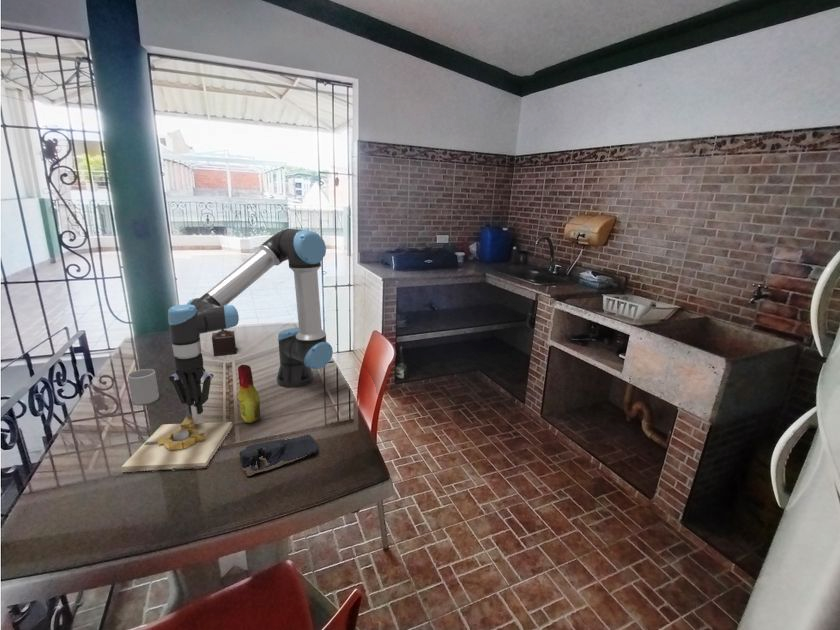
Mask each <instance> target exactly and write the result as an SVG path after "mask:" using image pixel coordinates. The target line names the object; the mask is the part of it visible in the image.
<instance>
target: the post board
mask: <svg viewBox="0 0 840 630" xmlns="http://www.w3.org/2000/svg"><path fill="white" fill-rule="evenodd" d="M233 426H234V425H233V421H226V422H225V421H224V422H222V421H221V422H200V423H199V424H197V425H196V426H195V428H194V429H196V430H198V432H199V433H204V434H205V438H204V440H200V441H197V442H196V443H195V444H193V445H191V446H189V447H186V448H183V449H177V450H169V449H168V448H166V447H165V446H164V444H158V438H159V437H160V436H167V434H169V433H171V432H173V431H175V430H178V429H181V423H168V424H165V423H164V424H161V425H160V426H159V427H158V428H157V429H156V430H155V431H154V432H153V433H152V435H151V436H150V437H148V439H146V441H145V442H144V443H143V444H142V445H141V446H140V447H138V449H137V450H136V451H135V452H134V453H133V454H132V455H131V456H130V457H129V458H128V459H127V460H126V461H125V462H124V463H123V464H122V465H121V471H122V473H123V472H132V471H143V470H144V471H145V470H147V471H148V470H160V469H173V468H184V467H195V466H206V465H207V464H208V462H209V461H210V459H211V458H212V456H213V455H214V453H215V452H216V451H217V449H218V448H219V446H220V445H221V443H222V442H223V440H224V439H225V437H226V436H227V437H228V435H229V434H230V432H231V431H230V430H232V429H231V428H233ZM229 431H230V432H229ZM228 433H229V434H228ZM227 434H228V435H227ZM173 437H174V440H173V441H182V440H184V439H187V438H189V437H191V436H189V432H188V430H180V431H177V432H175V433H174V434H173ZM227 437H226V438H227ZM225 440H226V439H225ZM225 440H224V441H225ZM223 443H224V442H223ZM223 443H222V444H223ZM221 446H222V445H221ZM221 446H220V447H221ZM219 449H220V448H219ZM217 452H218V451H217ZM132 473H133V472H132Z"/></svg>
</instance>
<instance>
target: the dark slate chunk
mask: <svg viewBox="0 0 840 630" xmlns="http://www.w3.org/2000/svg"><path fill="white" fill-rule="evenodd" d="M308 434H309V433H307V435H306V434H304V436H303V435H299V436H300V437H299V436H297V438H296V437H291V438H292V439H290V438H285V439H287V440H285V439H283V438H281V439H276V440H269V441H265V442H260V443H254V444H250V445H247V446H246V447H245V449H243V450H240V451H239V454H238V455H239V458H240V459H239V460H240V465H241V464H242V465H241V468H242V467H243V468H246V467H249V466H250V465H251V467H250V468H251V470H253V471H257V470H261V469H264V468H265V467H264V468H263V467H262V468H259V469H257V468H255V465H256V461H258V460H259V457H261V456H263V458H266V460H267V462H268V463H270V464H269V465H268V466H266V467H269V466H272V465H275V464H277V463H278V462H280V461H282V460H283V461H290V460H293V459H296V458H300V457H303V456H305V455H309V454H312V453H314V452H316V451H317V452H318V449H319V448H318V443H317V442H316V439H314V438H313V437H311V436H312V435H311V434H309V435H308ZM317 452H316V453H317ZM314 454H315V453H314ZM312 455H313V454H312ZM309 456H310V455H309ZM258 462H259V461H258Z"/></svg>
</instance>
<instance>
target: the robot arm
mask: <svg viewBox="0 0 840 630" xmlns="http://www.w3.org/2000/svg"><path fill="white" fill-rule="evenodd" d="M326 253H327V247H326V243H325V240H324V239H323V237H322V236H321V235H320V234H319V233H317V232H315V231H313V230H309V229H297V228H296V229H295V228H285V229H283V230H279V231H278V232H277V233H275V234H273V235H272V236H271V237H270V238H268V239H266V240H265V241H264V242H263V243H261V245H259V250H257V251H256V252H255V253H254V254H252V255H251V256H250V257H249V258H248V259H246V260H245V261H244V262H243V263H242V264H240V265H239V266H238V267H237V268H235V269H234V270H233V271H232V272H230V273H229V274H228V275H226V276H225V277H224V278H223V279H222V280H220V281H219V282H218V283H217V284H216V285H214V286H213V287H211V288H210V290H208V291H207V292H206V293H204V294H203V295H202V296H201V297H196V298H192V299H190V300H188V302H187V303H185V304H177V305H173V306H171V307H169V308H168V310H167V318H168V322H167V323H168V326H169V333H170V336H171V338H170V339H171V346H172V351H173V352H172V353H173V356H174V360H173V361H174V365H175V368H176V370H175V373H173V374H172V375H170V376H169V377H168V379H169V381H170V382H171V383H172V385H173V387H174V389H175V392H176V394H177V396H178V399H179V400H180V403H181V404H182V405H184V404H185V405H187V406H188V409H189V413H190V414H192V418H193V424H199V423H202V421H203V418H202V413H203V412H204V406H203V405H204V404H205V403H206V402H207V401H208V400H209V397H210V396H209V394H210V388H211V381H212V379H213V377H214V374H213V373H208V372H206V369H205V367H204V359H203V353H202V350H203V349H202V346H201V345H202V344H201V335H202V334H206V333H213V332H215V331H216V332H217V331H221V330H222V329H224V330H227V329H230V328H234V327H237V325H239V321H240V318H239V317H240V316H239V313H238V309H237V308H236V307H235V306H234V305H233V304H230V303H231V302H233V301H234V300H235V299H236V298H237V297H238V296H240V295H241V293H243V292H245V290H246V289H248V288H249V287H250V286H252V284H254V283H255V282H256V281H257V280H259V278H261V277H262V276H264V274H265V273H267V272H268V271H269V270H270V269H271V268H273V267H274V266H279V265H280V264H282V263H283V262H285V261H288V267H289V269H290V270H292V272H293V277H294V290H295V298H296V312H297V320H298V323H297V324H298V327H290V328H286V329H283V330H280V331H279V332H278V338H277V341H278V351H279V354H278V355H279V368H278V372H277V376H276V383H277V384H278V385H279V386H280V387H283V388H299V387H304V386H307V385H309V384H311V383H312V382H313V381H314V372H313V370H319V369H323V368H324V367H326V366H327V365H328V364H329V362H331V359H332V357H333V352H334V351H333V346H332V345H331V344H330V343H329V342H327V334H326V331H324V330H323V329H322V318H321V317H322V316H321V305H320V303H321V302H320V292H319V291H320V290H319V289H320V288H319V276H318V270H319V269H320V268H321V266H322V261H323V260H324V257H325V256H326ZM200 334H201V335H200ZM201 380H202V381H203V384H202V385H201V383H202V381H201Z"/></svg>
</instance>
